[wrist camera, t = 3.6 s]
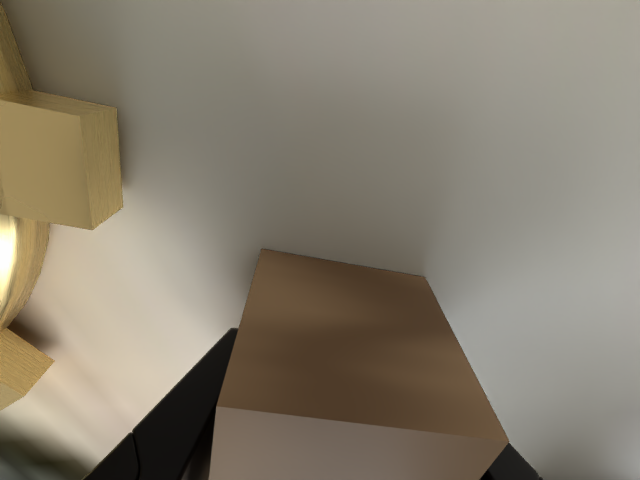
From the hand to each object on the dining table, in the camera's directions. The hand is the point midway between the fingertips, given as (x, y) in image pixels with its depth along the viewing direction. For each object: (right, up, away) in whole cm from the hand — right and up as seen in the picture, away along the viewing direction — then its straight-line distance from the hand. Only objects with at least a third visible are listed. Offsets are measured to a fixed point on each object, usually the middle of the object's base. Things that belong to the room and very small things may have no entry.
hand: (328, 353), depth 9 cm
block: (0, 0, +1) cm, 1 cm away
